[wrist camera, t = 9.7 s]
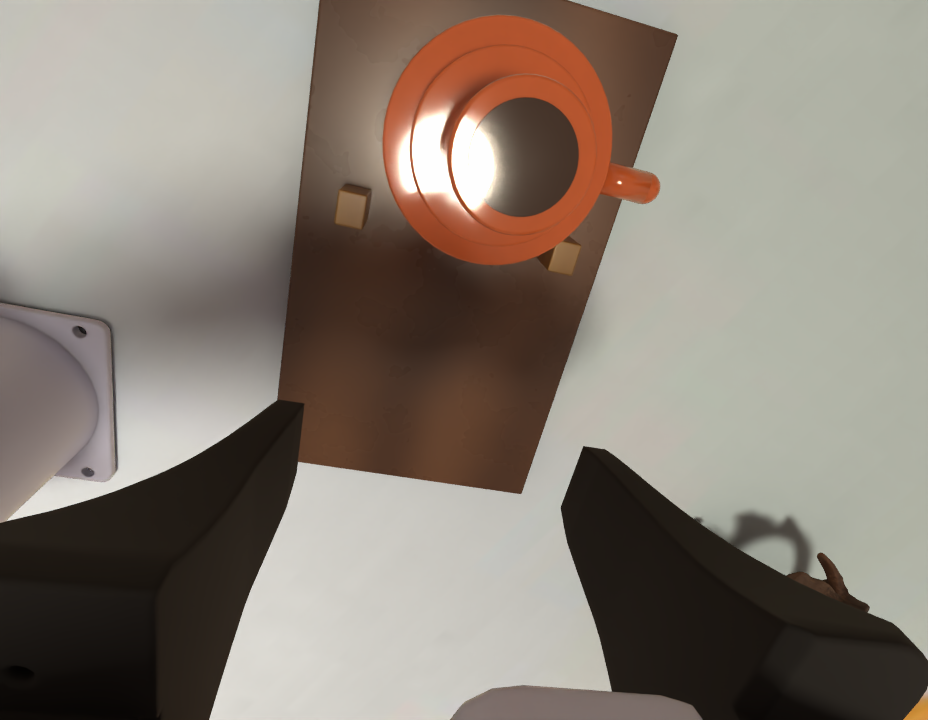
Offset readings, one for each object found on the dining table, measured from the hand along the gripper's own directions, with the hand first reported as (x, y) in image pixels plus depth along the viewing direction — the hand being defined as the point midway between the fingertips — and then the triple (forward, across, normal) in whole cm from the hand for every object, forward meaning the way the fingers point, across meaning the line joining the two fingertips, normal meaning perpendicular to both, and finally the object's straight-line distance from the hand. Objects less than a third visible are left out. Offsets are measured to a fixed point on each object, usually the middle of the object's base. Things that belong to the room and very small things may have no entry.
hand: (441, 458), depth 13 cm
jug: (+9, -1, -7) cm, 12 cm away
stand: (+10, 0, -2) cm, 11 cm away
